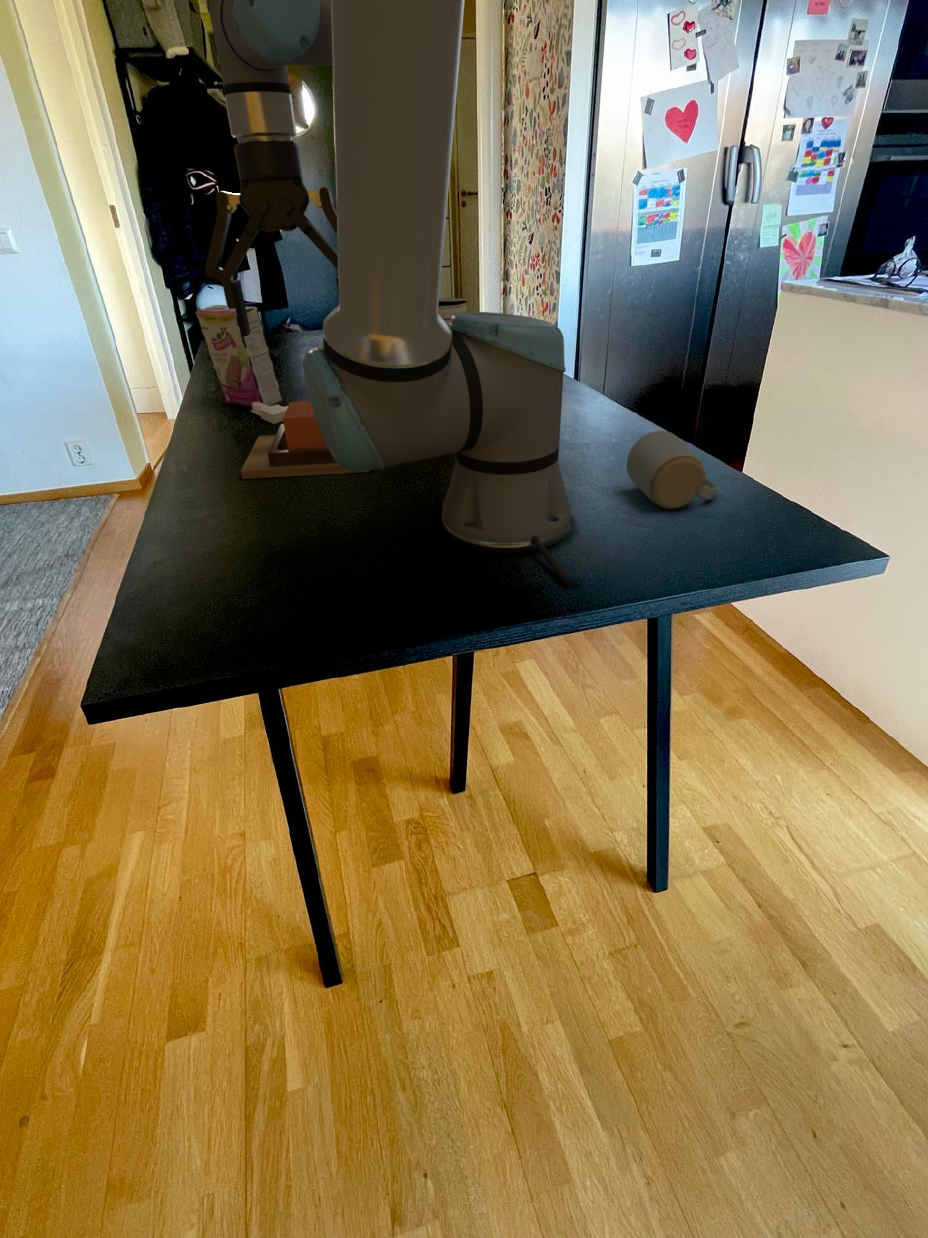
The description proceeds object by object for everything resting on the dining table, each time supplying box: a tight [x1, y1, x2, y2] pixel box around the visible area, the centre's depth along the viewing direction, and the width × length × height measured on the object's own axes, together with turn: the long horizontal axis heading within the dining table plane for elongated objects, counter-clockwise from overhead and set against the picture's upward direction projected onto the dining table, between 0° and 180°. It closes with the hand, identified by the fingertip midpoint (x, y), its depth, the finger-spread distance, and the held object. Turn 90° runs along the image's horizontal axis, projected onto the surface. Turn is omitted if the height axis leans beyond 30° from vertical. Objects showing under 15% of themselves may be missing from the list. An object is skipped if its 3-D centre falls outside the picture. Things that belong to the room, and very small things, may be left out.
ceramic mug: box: [626, 430, 719, 510], centre depth 82 cm, size 11×8×8 cm
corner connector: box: [250, 402, 288, 425], centre depth 118 cm, size 8×8×2 cm
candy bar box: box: [195, 304, 283, 408], centre depth 119 cm, size 11×5×16 cm, turn 56°
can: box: [438, 297, 468, 326], centre depth 151 cm, size 11×11×12 cm
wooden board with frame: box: [239, 423, 371, 480], centre depth 99 cm, size 15×18×3 cm
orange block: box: [282, 400, 327, 450], centre depth 98 cm, size 8×5×6 cm, turn 5°
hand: (296, 332), depth 91 cm, fingers open, 13 cm apart
